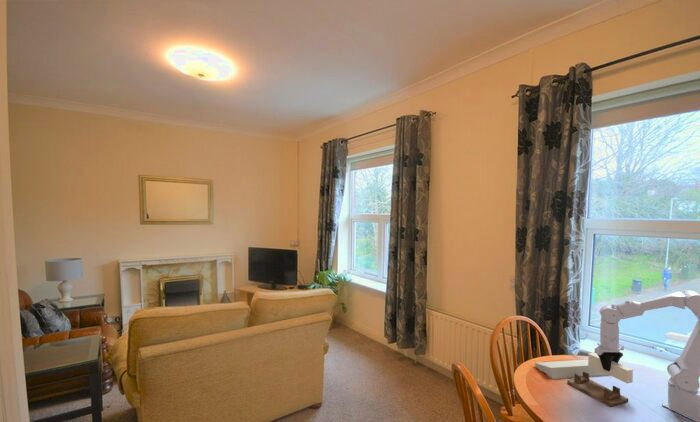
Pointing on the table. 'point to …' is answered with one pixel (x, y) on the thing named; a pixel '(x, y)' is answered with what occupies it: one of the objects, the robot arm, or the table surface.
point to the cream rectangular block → (612, 368)
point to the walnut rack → (597, 390)
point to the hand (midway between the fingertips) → (609, 369)
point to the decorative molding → (568, 369)
